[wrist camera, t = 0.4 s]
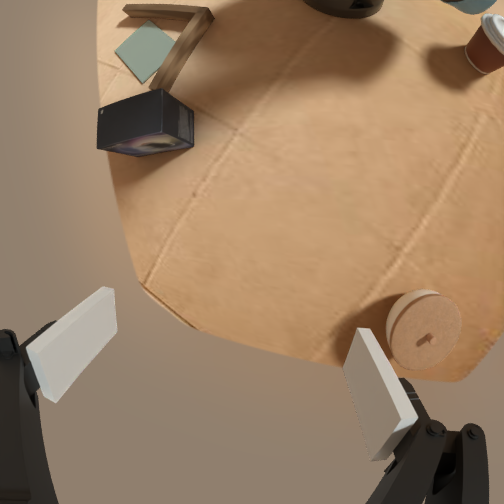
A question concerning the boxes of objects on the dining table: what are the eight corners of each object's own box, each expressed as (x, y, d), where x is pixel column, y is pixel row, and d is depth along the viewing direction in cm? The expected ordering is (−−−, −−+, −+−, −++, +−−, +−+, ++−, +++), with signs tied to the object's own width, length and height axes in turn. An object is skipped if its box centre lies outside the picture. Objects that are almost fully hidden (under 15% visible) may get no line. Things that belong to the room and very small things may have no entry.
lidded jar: (451, 297, 35) (480, 318, 26) (416, 354, 37) (435, 386, 28) (401, 267, 36) (425, 285, 27) (364, 331, 38) (377, 362, 29)
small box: (136, 160, 41) (94, 151, 31) (136, 123, 40) (96, 107, 30) (195, 149, 39) (160, 133, 29) (194, 109, 38) (162, 84, 28)
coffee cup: (453, 55, 28) (483, 23, 16) (463, 31, 25) (489, 0, 14) (492, 90, 27) (528, 68, 15) (499, 63, 25) (531, 39, 13)
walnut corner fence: (134, 12, 36) (126, 4, 33) (214, 18, 34) (208, 7, 31) (93, 78, 40) (82, 73, 37) (166, 96, 38) (155, 89, 35)
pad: (149, 20, 36) (148, 19, 36) (182, 48, 36) (181, 47, 36) (115, 51, 38) (114, 51, 38) (143, 83, 39) (142, 83, 38)
